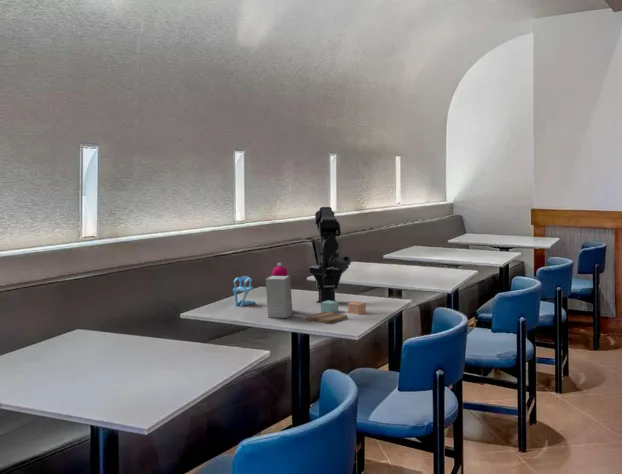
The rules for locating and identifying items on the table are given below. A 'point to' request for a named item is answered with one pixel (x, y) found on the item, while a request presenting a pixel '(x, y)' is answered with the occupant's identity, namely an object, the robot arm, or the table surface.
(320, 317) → the walnut board
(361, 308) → the tan brick
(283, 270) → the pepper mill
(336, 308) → the teal brick
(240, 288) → the chair
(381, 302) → the table surface
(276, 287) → the skincare box
